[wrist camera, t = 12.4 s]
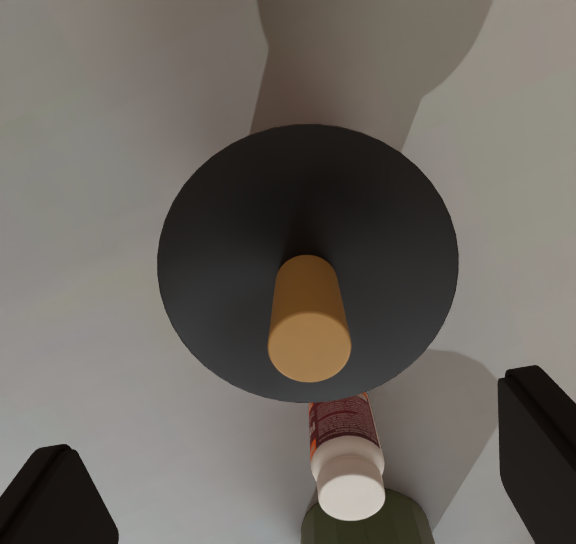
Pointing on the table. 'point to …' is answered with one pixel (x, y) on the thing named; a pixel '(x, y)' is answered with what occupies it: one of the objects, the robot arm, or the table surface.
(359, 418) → the pill bottle
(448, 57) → the table surface
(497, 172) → the table surface
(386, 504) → the pot
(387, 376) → the lid
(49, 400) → the table surface
